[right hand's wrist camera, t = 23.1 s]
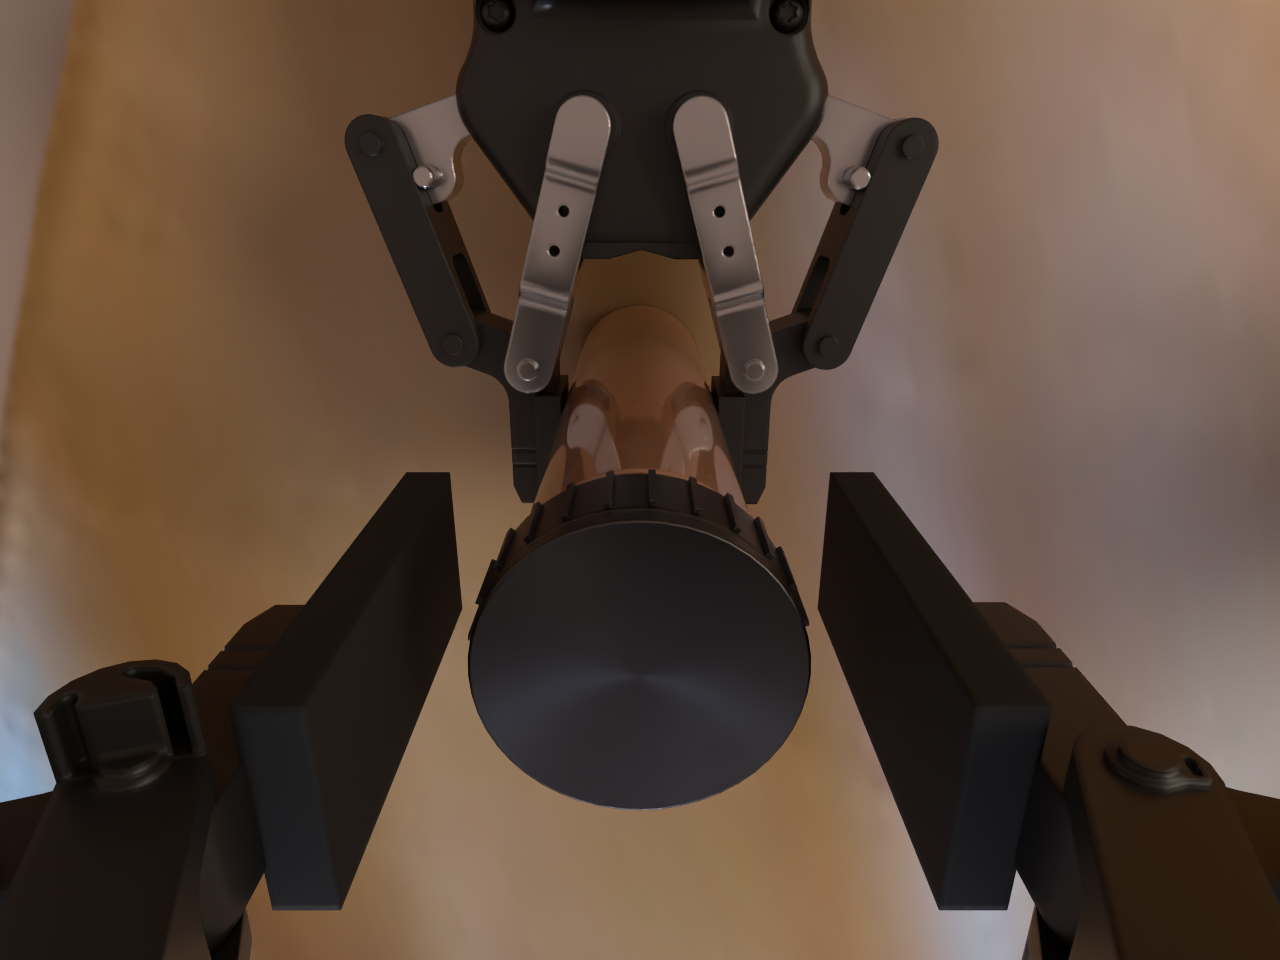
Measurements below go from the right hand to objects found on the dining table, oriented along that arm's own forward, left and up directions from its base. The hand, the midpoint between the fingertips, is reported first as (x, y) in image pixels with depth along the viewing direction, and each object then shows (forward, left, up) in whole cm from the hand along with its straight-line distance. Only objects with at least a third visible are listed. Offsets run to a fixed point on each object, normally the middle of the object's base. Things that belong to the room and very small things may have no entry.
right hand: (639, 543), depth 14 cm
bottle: (0, 0, -14) cm, 14 cm away
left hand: (-1, -3, -8) cm, 8 cm away
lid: (0, 0, +4) cm, 4 cm away
